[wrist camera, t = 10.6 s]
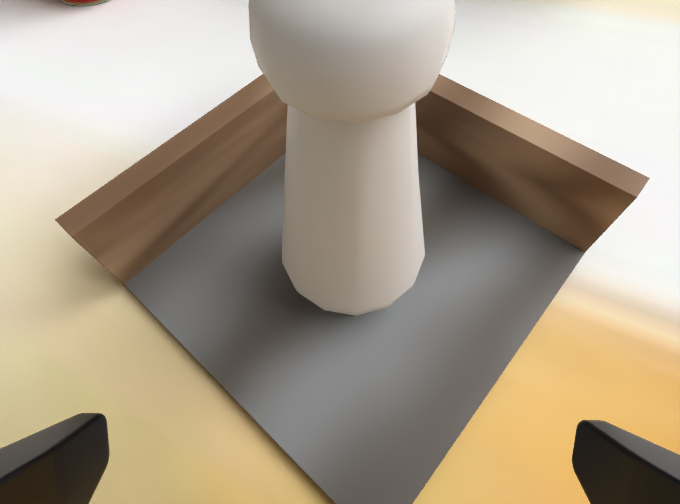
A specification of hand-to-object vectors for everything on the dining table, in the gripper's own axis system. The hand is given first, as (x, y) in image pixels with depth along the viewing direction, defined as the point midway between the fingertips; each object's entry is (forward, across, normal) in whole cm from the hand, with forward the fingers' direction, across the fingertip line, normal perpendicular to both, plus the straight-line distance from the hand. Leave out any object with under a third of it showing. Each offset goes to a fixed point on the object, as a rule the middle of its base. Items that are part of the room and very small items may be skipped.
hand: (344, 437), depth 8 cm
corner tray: (+12, -1, 0) cm, 12 cm away
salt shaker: (+12, -1, 0) cm, 12 cm away
